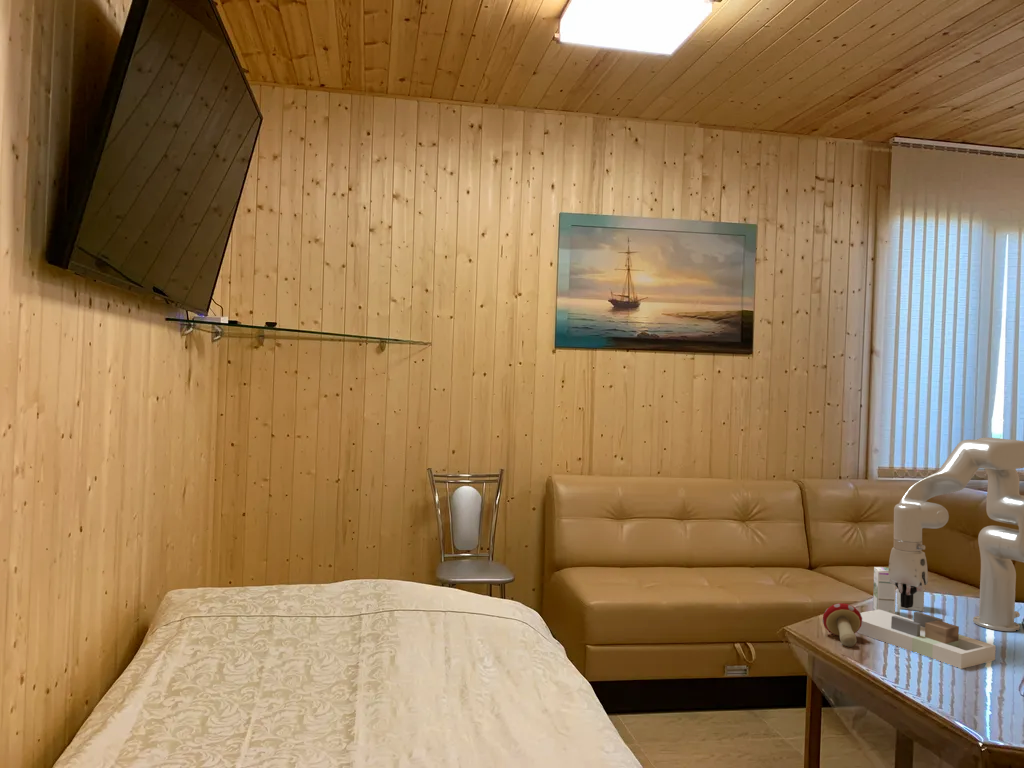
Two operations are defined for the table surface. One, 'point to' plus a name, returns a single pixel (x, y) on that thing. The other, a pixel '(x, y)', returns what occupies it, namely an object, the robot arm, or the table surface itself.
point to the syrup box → (883, 591)
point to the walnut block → (941, 631)
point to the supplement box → (917, 601)
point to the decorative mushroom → (843, 622)
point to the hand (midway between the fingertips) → (906, 606)
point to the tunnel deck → (924, 638)
